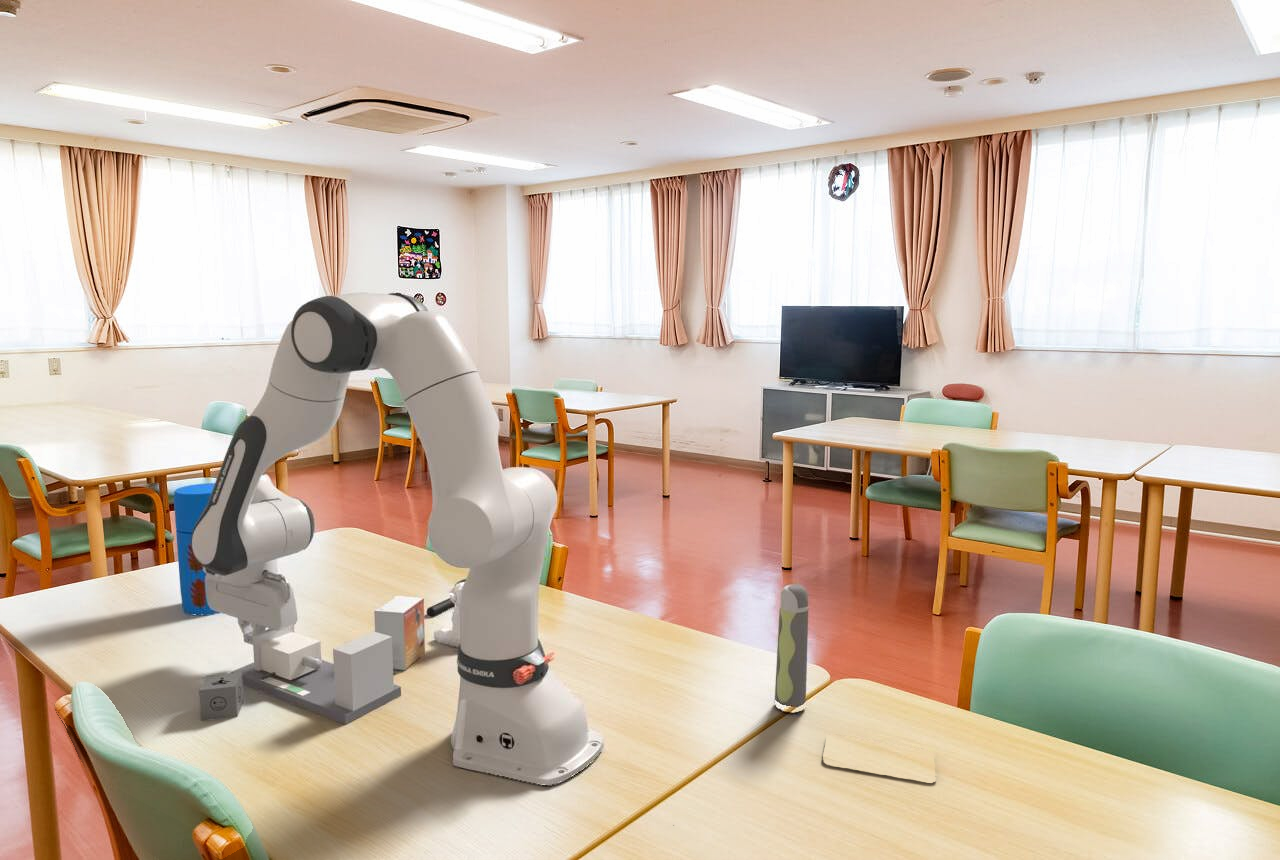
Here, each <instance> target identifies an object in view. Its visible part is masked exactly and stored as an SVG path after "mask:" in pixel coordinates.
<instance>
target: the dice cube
mask: <svg viewBox="0 0 1280 860" xmlns="http://www.w3.org/2000/svg"><path fill="white" fill-rule="evenodd" d="M243 686H244V685H243V682H242V672H241V673H231V672H230V673H223V674H222V673H221V674H214V675H213V674H211V675H206V676H205V679H204V680H203V682H202V684H201V685H200V688H199V689H198V696H199V711H200V712H199V713H200V721H201V722H204V721H212V720H214V721H215V720H222V719H230V718H231V719H232V718H238V716H239V714H240V712H241V710H242V707H243V704H244V702H245V701H244V687H243Z"/></svg>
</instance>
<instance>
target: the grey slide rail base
mask: <svg viewBox="0 0 1280 860" xmlns="http://www.w3.org/2000/svg"><path fill="white" fill-rule="evenodd" d="M332 654H333V655H332V657H333V659H332V660H333V663H332V662H329V661H327V660H324V659H321V661H322V667H320V668H319V669H317V670H316V669H315V670H313V671H311V672H308V673H306V674H304V675H301V676H299V677H297V678H295V679H292V680H288V679H286V678H283V677H280V676H278V675H273V676H271V677H269V678H266V679H264V680H261V677H263V676H266V675H268V674H270V673H269V672H267V671H264V670H260V671H258V670H256V669H254V662H252V663H250V664H247V665H245V666H242V667H238V668H237V669H234V670H232V671H230V673H241V672H242V682H243V686H246V687H248V688H250V689H253V690H255V691H259V692H260V693H264V694H266V695H269V696H271V697H274V698H277V699H278V700H281V701H285V702H286V703H289V704H291V705H295V706H296V707H299V708H302V709H305V710H307V711H310V712H312V713H315V714H317V715H320V716H322V717H324V718H328V719H330V720H332V721H335V722H338V723H340V724H343V725H348V724H349V723H351V722H354V721H355V720H358V719H360V718H362V716H365V715H368V713H370V712H373V711H374V710H377V709H378V708H381V707H382V706H384V705H386V704H388V703H389V702H392V701H394V700H395V699H397V698H399V697H401V696H402V687H401V686H400V685H397V684H395V683H394V669H393V653H392V637H391V636H388V635H384V634H381V633H378V632H375V631H372V632H370V633H368V634H365V635H362V636H360V637H358V638H355V639H353V640H351V641H348V642H346V643H344V644H342V645H338V646H336V647H334V648H332Z"/></svg>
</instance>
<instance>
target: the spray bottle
mask: <svg viewBox="0 0 1280 860" xmlns="http://www.w3.org/2000/svg"><path fill="white" fill-rule="evenodd" d="M778 615H779V617H778V632H777V634H778V635H777V649H776V651H777V652H776V665H775V666H776V670H775V686H774V687H775V688H774V701H775V700H776V701H777V702H779V703H780V704H782V705H786V706H791V707H799V706H801V705H803V704H804V703H805V702H806V703H807V701H806V700H807V678H808V677H807V675H808V674H807V673H808V672H807V671H808V637H809V634H808V633H809V596H808V591H807V589H806V587H804V586H803V585H801V584H797V583H795V584H794V583H793V584H788V585H786V586H784V587H783V588H782V589H781V592H780V607H779V613H778Z"/></svg>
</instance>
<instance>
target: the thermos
mask: <svg viewBox="0 0 1280 860" xmlns="http://www.w3.org/2000/svg"><path fill="white" fill-rule="evenodd" d="M214 485H215V482H211V483H196V484H190V485H189V484H188V485H186V486H181V487H178V488H176V489H175V490H174V492H173V504H174V505H173V506H174V507H173V509H174V519H175V534H176V535H175V536H176V547H177V548H176V549H177V560H178V562H177V563H178V573H179V576H178V578H179V588H180V596H181V597H180V599H181V604H182V611H183V610H184V611H183V613H184V612H185V613H184V614H187V613H188V614H187V615H189V614H196V615H195V616H208V615H207V614H211V615H215V614H214V613H218V614H221V613H220V612H217V611H214V610H212V609H211V608H210V607H209V605H208V602H207V597H206V587H205V577H206V575H207V573H205V572H204V571H203V566H201V565H200V564H199V563H198V562H197V561H196V559H195V557H194V555H193V552H192V548H191V536H192V532H193V529H194V527H195V525H196V523H197V521H198V519H199V518H200V516H201V514H202V513H203V511H204V509H205V508H206V506H207V503H208V501H209V498H210V496H211V493H212V490H213V488H214ZM201 614H203V615H201Z"/></svg>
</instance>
